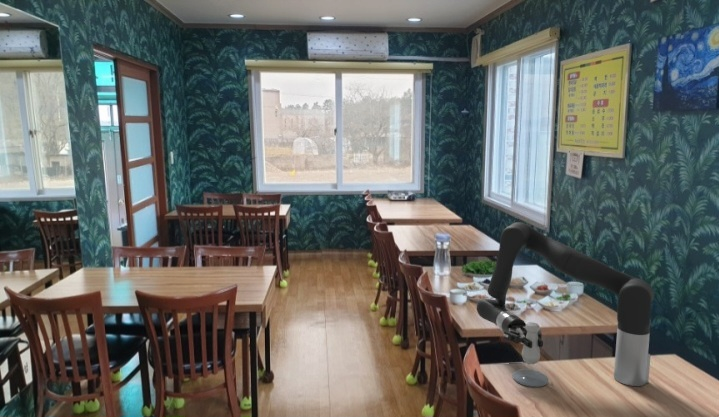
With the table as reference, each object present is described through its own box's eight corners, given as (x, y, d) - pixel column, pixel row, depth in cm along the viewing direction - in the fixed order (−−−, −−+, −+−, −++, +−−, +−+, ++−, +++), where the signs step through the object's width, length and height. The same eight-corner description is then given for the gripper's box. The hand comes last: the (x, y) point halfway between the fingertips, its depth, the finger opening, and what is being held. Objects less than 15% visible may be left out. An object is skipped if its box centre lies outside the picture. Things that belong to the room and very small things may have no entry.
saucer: (536, 370, 171) (537, 368, 171) (554, 386, 160) (555, 383, 160) (506, 373, 169) (507, 370, 169) (523, 389, 158) (523, 386, 158)
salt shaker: (540, 366, 160) (543, 327, 158) (522, 364, 162) (524, 326, 160) (538, 358, 166) (540, 321, 164) (520, 356, 167) (522, 319, 165)
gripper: (492, 315, 175) (516, 335, 158) (529, 313, 177) (557, 332, 161) (491, 336, 176) (515, 357, 159) (528, 333, 179) (555, 354, 162)
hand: (536, 344), depth 160 cm, fingers closed on salt shaker, 3 cm apart
